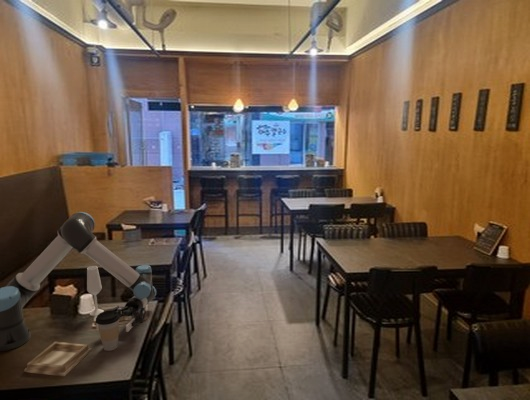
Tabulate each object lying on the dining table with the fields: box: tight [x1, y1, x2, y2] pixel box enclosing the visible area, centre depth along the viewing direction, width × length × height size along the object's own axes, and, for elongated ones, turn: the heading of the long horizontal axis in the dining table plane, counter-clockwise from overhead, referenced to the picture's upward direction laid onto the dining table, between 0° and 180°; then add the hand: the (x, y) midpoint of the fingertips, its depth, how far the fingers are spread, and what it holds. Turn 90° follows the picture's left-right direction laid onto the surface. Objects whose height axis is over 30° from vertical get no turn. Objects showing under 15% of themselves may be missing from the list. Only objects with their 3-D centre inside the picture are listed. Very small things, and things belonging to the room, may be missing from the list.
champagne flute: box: [86, 265, 105, 317], centre depth 188 cm, size 7×7×24 cm
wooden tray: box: [23, 341, 93, 377], centre depth 151 cm, size 17×17×3 cm
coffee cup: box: [95, 309, 121, 352], centre depth 159 cm, size 9×9×15 cm
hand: (111, 327), depth 160 cm, fingers open, 13 cm apart
